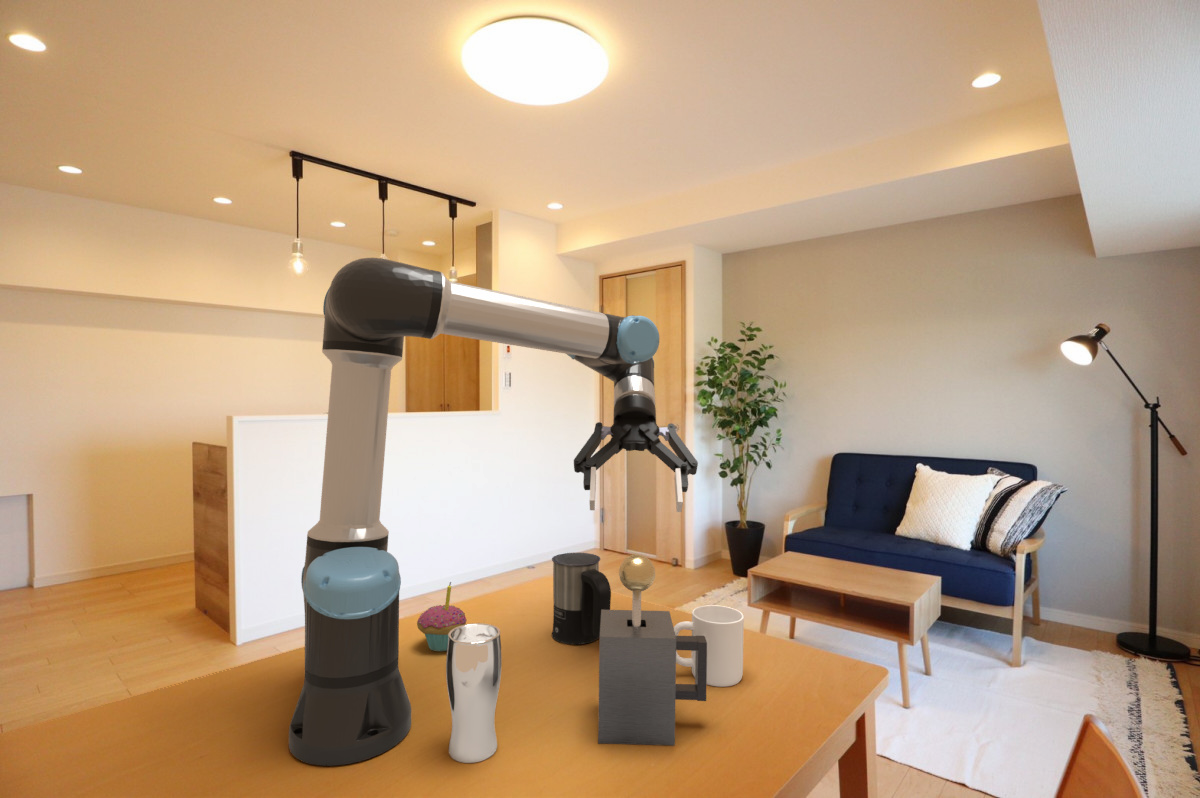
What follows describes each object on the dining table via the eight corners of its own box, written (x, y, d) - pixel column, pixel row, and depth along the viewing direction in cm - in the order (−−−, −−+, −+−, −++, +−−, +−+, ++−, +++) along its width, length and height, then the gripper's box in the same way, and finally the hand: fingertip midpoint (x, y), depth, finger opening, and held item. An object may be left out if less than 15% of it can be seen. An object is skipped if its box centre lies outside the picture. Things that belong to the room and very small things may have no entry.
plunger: (606, 727, 80) (608, 562, 80) (606, 697, 88) (608, 547, 88) (666, 728, 80) (668, 563, 80) (661, 698, 88) (663, 548, 88)
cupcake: (475, 643, 110) (476, 578, 110) (440, 660, 103) (441, 590, 103) (442, 633, 115) (443, 570, 114) (406, 648, 107) (407, 581, 107)
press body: (598, 743, 79) (599, 636, 79) (600, 704, 89) (601, 609, 89) (710, 746, 79) (711, 639, 79) (699, 706, 89) (700, 611, 89)
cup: (749, 687, 95) (750, 623, 95) (674, 688, 94) (675, 624, 94) (734, 663, 103) (735, 604, 103) (664, 665, 102) (665, 605, 102)
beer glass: (473, 772, 73) (475, 648, 72) (433, 753, 76) (434, 635, 76) (511, 744, 78) (513, 629, 78) (472, 728, 82) (473, 618, 82)
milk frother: (540, 637, 113) (541, 558, 113) (590, 613, 126) (591, 542, 126) (602, 657, 105) (604, 572, 105) (648, 629, 118) (650, 553, 118)
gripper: (701, 422, 111) (713, 521, 96) (566, 420, 112) (557, 518, 97) (706, 393, 106) (719, 493, 91) (564, 391, 106) (554, 490, 91)
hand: (635, 506), depth 94 cm, fingers open, 13 cm apart
